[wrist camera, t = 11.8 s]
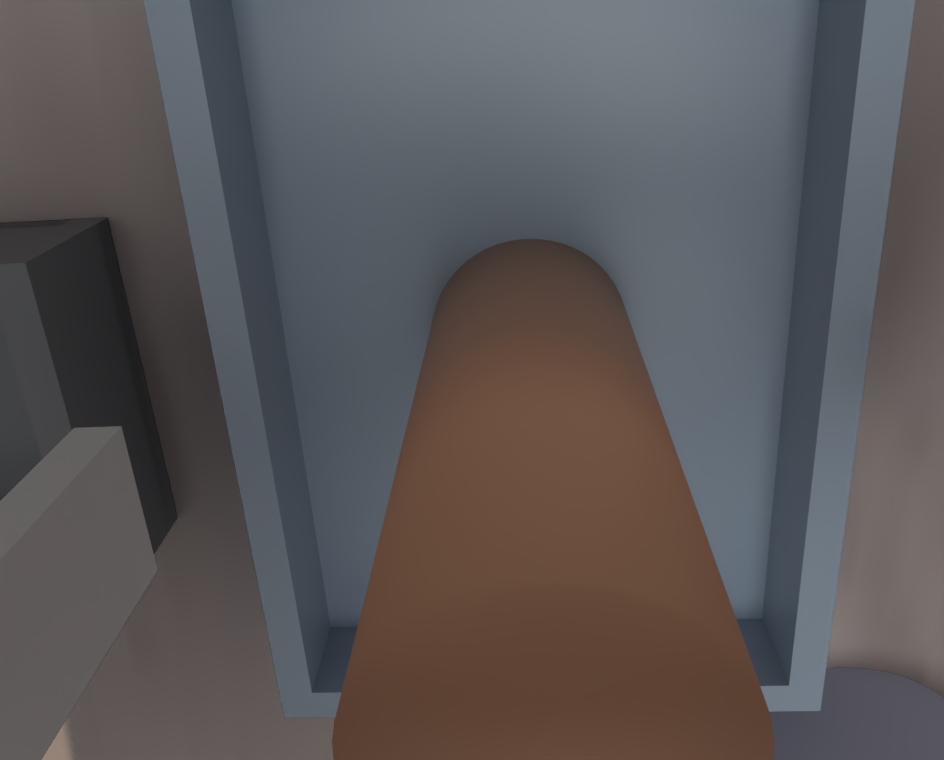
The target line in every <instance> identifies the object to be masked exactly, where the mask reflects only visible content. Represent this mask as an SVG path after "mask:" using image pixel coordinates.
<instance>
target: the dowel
mask: <svg viewBox="0 0 944 760" xmlns="http://www.w3.org/2000/svg"><path fill="white" fill-rule="evenodd" d="M332 744H333V757H334V760H774V732H773V726H772V720H771V715H770V712H769V709H768V707H767V704H766V701H765V698H764V695H763V692H762V690H761V687H760V684H759V681H758V678H757V676H756V673H755V670H754V667H753V664H752V662H751V659H750V656H749V653H748V650H747V648H746V645H745V642H744V639H743V636H742V634H741V631H740V628H739V625H738V622H737V620H736V617H735V614H734V611H733V608H732V606H731V603H730V600H729V597H728V594H727V592H726V589H725V586H724V583H723V580H722V578H721V575H720V572H719V569H718V566H717V564H716V561H715V558H714V555H713V552H712V550H711V547H710V544H709V541H708V538H707V536H706V533H705V530H704V527H703V524H702V522H701V519H700V516H699V513H698V510H697V508H696V505H695V502H694V499H693V497H692V494H691V491H690V488H689V485H688V483H687V480H686V477H685V474H684V471H683V469H682V466H681V463H680V460H679V457H678V455H677V452H676V449H675V446H674V443H673V441H672V438H671V435H670V432H669V429H668V427H667V424H666V421H665V418H664V415H663V413H662V410H661V407H660V404H659V401H658V399H657V396H656V393H655V390H654V387H653V385H652V382H651V379H650V376H649V373H648V371H647V368H646V365H645V362H644V359H643V357H642V354H641V351H640V348H639V345H638V343H637V340H636V337H635V334H634V331H633V329H632V326H631V323H630V320H629V317H628V315H627V312H626V309H625V306H624V303H623V301H622V298H621V295H620V293H619V291H618V289H617V287H616V285H615V284H614V282H613V281H612V279H611V278H610V276H609V275H608V274H607V273H606V272H605V270H604V269H603V268H602V267H601V266H600V265H599V264H598V263H596V262H595V261H594V260H593V259H591V258H590V257H589V256H587V255H586V254H584V253H582V252H581V251H579V250H577V249H575V248H572V247H570V246H568V245H566V244H562V243H559V242H555V241H550V240H544V239H519V240H512V241H507V242H503V243H500V244H497V245H494V246H492V247H489V248H487V249H485V250H483V251H481V252H479V253H478V254H476V255H475V256H473V257H472V258H470V259H469V260H468V261H466V262H465V263H464V264H463V265H462V266H461V267H460V268H459V269H458V270H457V271H456V272H455V273H454V274H453V276H452V277H451V278H450V279H449V281H448V282H447V284H446V286H445V287H444V289H443V291H442V293H441V295H440V298H439V300H438V302H437V306H436V310H435V313H434V317H433V321H432V325H431V329H430V333H429V338H428V342H427V346H426V350H425V354H424V358H423V362H422V366H421V370H420V374H419V378H418V382H417V386H416V391H415V395H414V399H413V403H412V407H411V411H410V415H409V419H408V423H407V427H406V431H405V435H404V439H403V444H402V448H401V452H400V456H399V460H398V464H397V468H396V472H395V476H394V480H393V484H392V488H391V493H390V497H389V501H388V505H387V509H386V513H385V517H384V521H383V525H382V529H381V533H380V537H379V541H378V546H377V550H376V554H375V558H374V562H373V566H372V570H371V574H370V578H369V582H368V586H367V590H366V594H365V599H364V603H363V607H362V611H361V615H360V619H359V623H358V627H357V631H356V635H355V639H354V643H353V647H352V652H351V656H350V660H349V664H348V668H347V672H346V676H345V680H344V684H343V688H342V692H341V696H340V700H339V705H338V709H337V713H336V717H335V721H334V731H333V741H332Z"/></svg>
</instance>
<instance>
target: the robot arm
mask: <svg viewBox="0 0 944 760" xmlns="http://www.w3.org/2000/svg"><path fill="white" fill-rule="evenodd" d="M157 571H158V570H157V566H156V562H155V558H154V554H153V550H152V546H151V542H150V538H149V534H148V530H147V526H146V522H145V518H144V514H143V510H142V506H141V502H140V498H139V494H138V490H137V486H136V482H135V478H134V474H133V470H132V466H131V462H130V458H129V455H128V451H127V447H126V443H125V439H124V435H123V431H122V427H121V426H112V427H84V428H74V429H73V430H72V431H71V432H70V433H69V434H68V435H66V436H65V437H64V438H63V439H62V440H61V441H60V442H59V443H58V444H57V445H56V446H55V447H54V448H53V449H52V450H51V451H50V452H49V453H48V454H47V455H46V456H45V457H44V458H43V459H42V460H41V461H40V462H39V463H38V464H37V465H36V466H35V467H34V468H33V469H32V470H31V471H30V472H29V473H28V474H27V475H26V476H25V477H24V478H23V479H22V480H21V481H20V482H19V483H18V484H17V485H16V486H15V487H14V488H13V489H12V490H11V491H10V492H9V493H8V494H7V495H6V496H5V497H4V498H3V499H2V500H1V501H0V760H41V759H42V758H43V756H44V755H45V753H46V751H47V750H48V748H49V746H50V745H51V743H52V741H53V740H54V738H55V736H56V735H57V733H58V732H59V730H60V729H61V727H62V725H63V724H64V722H65V720H66V719H67V717H68V716H69V714H70V712H71V711H72V709H73V707H74V706H75V704H76V703H77V701H78V699H79V698H80V696H81V694H82V693H83V691H84V690H85V688H86V686H87V685H88V683H89V681H90V680H91V678H92V677H93V675H94V673H95V672H96V670H97V668H98V667H99V665H100V664H101V662H102V660H103V659H104V657H105V655H106V654H107V652H108V651H109V649H110V647H111V646H112V644H113V642H114V641H115V639H116V638H117V636H118V634H119V633H120V631H121V629H122V628H123V626H124V625H125V623H126V621H127V620H128V618H129V616H130V615H131V613H132V612H133V610H134V608H135V607H136V605H137V603H138V602H139V600H140V599H141V597H142V595H143V594H144V592H145V590H146V589H147V587H148V586H149V584H150V582H151V581H152V579H153V577H154V576H155V574H156V573H157Z"/></svg>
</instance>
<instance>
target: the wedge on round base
mask: <svg viewBox="0 0 944 760" xmlns="http://www.w3.org/2000/svg"><path fill="white" fill-rule="evenodd" d="M770 715H771V720H772V726H773V732H774V760H944V698H943V697H942V696H941V695H939V694H938V693H936V692H935V691H933V690H931V689H929V688H928V687H926V686H924V685H922V684H920V683H917V682H915V681H912V680H910V679H907V678H905V677H902V676H898V675H894V674H891V673H887V672H883V671H877V670H870V669H863V668H840V667H837V668H826V673H825V680H824V688H823V695H822V702H821V710H820V711H777V712H770Z"/></svg>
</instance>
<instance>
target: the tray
mask: <svg viewBox="0 0 944 760" xmlns="http://www.w3.org/2000/svg"><path fill="white" fill-rule="evenodd" d="M143 1H144V6H145V11H146V16H147V21H148V26H149V31H150V36H151V42H152V47H153V52H154V57H155V62H156V67H157V72H158V77H159V82H160V87H161V92H162V98H163V103H164V108H165V113H166V118H167V123H168V128H169V133H170V138H171V143H172V148H173V154H174V159H175V164H176V169H177V174H178V179H179V184H180V189H181V194H182V199H183V204H184V210H185V215H186V220H187V225H188V230H189V235H190V240H191V245H192V250H193V255H194V260H195V266H196V271H197V276H198V281H199V286H200V291H201V296H202V301H203V306H204V311H205V316H206V322H207V327H208V332H209V337H210V342H211V347H212V352H213V357H214V362H215V367H216V372H217V378H218V383H219V388H220V393H221V398H222V403H223V408H224V413H225V418H226V423H227V428H228V433H229V439H230V444H231V449H232V454H233V459H234V464H235V469H236V474H237V479H238V484H239V489H240V495H241V500H242V505H243V510H244V515H245V520H246V525H247V530H248V535H249V540H250V545H251V551H252V556H253V561H254V566H255V571H256V576H257V581H258V586H259V591H260V596H261V601H262V607H263V612H264V617H265V622H266V627H267V632H268V637H269V642H270V647H271V652H272V657H273V663H274V668H275V673H276V678H277V683H278V688H279V693H280V698H281V703H282V708H283V713H284V718H330V717H336V713H337V709H338V705H339V700H340V696H341V692H342V688H343V684H344V680H345V676H346V672H347V668H348V664H349V660H350V656H351V652H352V647H353V643H354V639H355V635H356V631H357V627H358V623H359V619H360V615H361V611H362V607H363V603H364V599H365V594H366V590H367V586H368V582H369V578H370V574H371V570H372V566H373V562H374V558H375V554H376V550H377V546H378V541H379V537H380V533H381V529H382V525H383V521H384V517H385V513H386V509H387V505H388V501H389V497H390V493H391V488H392V484H393V480H394V476H395V472H396V468H397V464H398V460H399V456H400V452H401V448H402V444H403V439H404V435H405V431H406V427H407V423H408V419H409V415H410V411H411V407H412V403H413V399H414V395H415V391H416V386H417V382H418V378H419V374H420V370H421V366H422V362H423V358H424V354H425V350H426V346H427V342H428V338H429V333H430V329H431V325H432V321H433V317H434V313H435V310H436V306H437V302H438V300H439V298H440V295H441V293H442V291H443V289H444V287H445V286H446V284H447V282H448V281H449V279H450V278H451V277H452V276H453V274H454V273H455V272H456V271H457V270H458V269H459V268H460V267H461V266H462V265H463V264H464V263H465V262H466V261H468V260H469V259H470V258H472V257H473V256H475V255H476V254H478V253H479V252H481V251H483V250H485V249H487V248H489V247H492V246H494V245H497V244H500V243H503V242H507V241H512V240H519V239H544V240H550V241H555V242H559V243H562V244H566V245H568V246H570V247H572V248H575V249H577V250H579V251H581V252H582V253H584V254H586V255H587V256H589V257H590V258H591V259H593V260H594V261H595V262H596V263H598V264H599V265H600V266H601V267H602V268H603V269H604V270H605V272H606V273H607V274H608V275H609V276H610V278H611V279H612V281H613V282H614V284H615V285H616V287H617V289H618V291H619V293H620V295H621V298H622V301H623V303H624V306H625V309H626V312H627V315H628V317H629V320H630V323H631V326H632V329H633V331H634V334H635V337H636V340H637V343H638V345H639V348H640V351H641V354H642V357H643V359H644V362H645V365H646V368H647V371H648V373H649V376H650V379H651V382H652V385H653V387H654V390H655V393H656V396H657V399H658V401H659V404H660V407H661V410H662V413H663V415H664V418H665V421H666V424H667V427H668V429H669V432H670V435H671V438H672V441H673V443H674V446H675V449H676V452H677V455H678V457H679V460H680V463H681V466H682V469H683V471H684V474H685V477H686V480H687V483H688V485H689V488H690V491H691V494H692V497H693V499H694V502H695V505H696V508H697V510H698V513H699V516H700V519H701V522H702V524H703V527H704V530H705V533H706V536H707V538H708V541H709V544H710V547H711V550H712V552H713V555H714V558H715V561H716V564H717V566H718V569H719V572H720V575H721V578H722V580H723V583H724V586H725V589H726V592H727V594H728V597H729V600H730V603H731V606H732V608H733V611H734V614H735V617H736V620H737V622H738V625H739V628H740V631H741V634H742V636H743V639H744V642H745V645H746V648H747V650H748V653H749V656H750V659H751V662H752V664H753V667H754V670H755V673H756V676H757V678H758V681H759V684H760V687H761V690H762V692H763V695H764V698H765V701H766V704H767V707H768V709H769V712H777V711H820V710H821V702H822V695H823V688H824V680H825V673H826V665H827V658H828V650H829V643H830V635H831V628H832V620H833V613H834V605H835V598H836V590H837V583H838V575H839V568H840V560H841V553H842V545H843V538H844V530H845V523H846V516H847V508H848V501H849V493H850V486H851V478H852V471H853V463H854V456H855V448H856V441H857V433H858V426H859V418H860V411H861V403H862V396H863V388H864V381H865V373H866V366H867V358H868V351H869V344H870V336H871V329H872V321H873V314H874V306H875V299H876V291H877V284H878V276H879V269H880V261H881V254H882V246H883V239H884V231H885V224H886V216H887V209H888V201H889V194H890V186H891V179H892V172H893V164H894V157H895V149H896V142H897V134H898V127H899V119H900V112H901V104H902V97H903V89H904V82H905V74H906V67H907V59H908V52H909V44H910V37H911V29H912V22H913V14H914V7H915V0H143Z"/></svg>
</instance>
